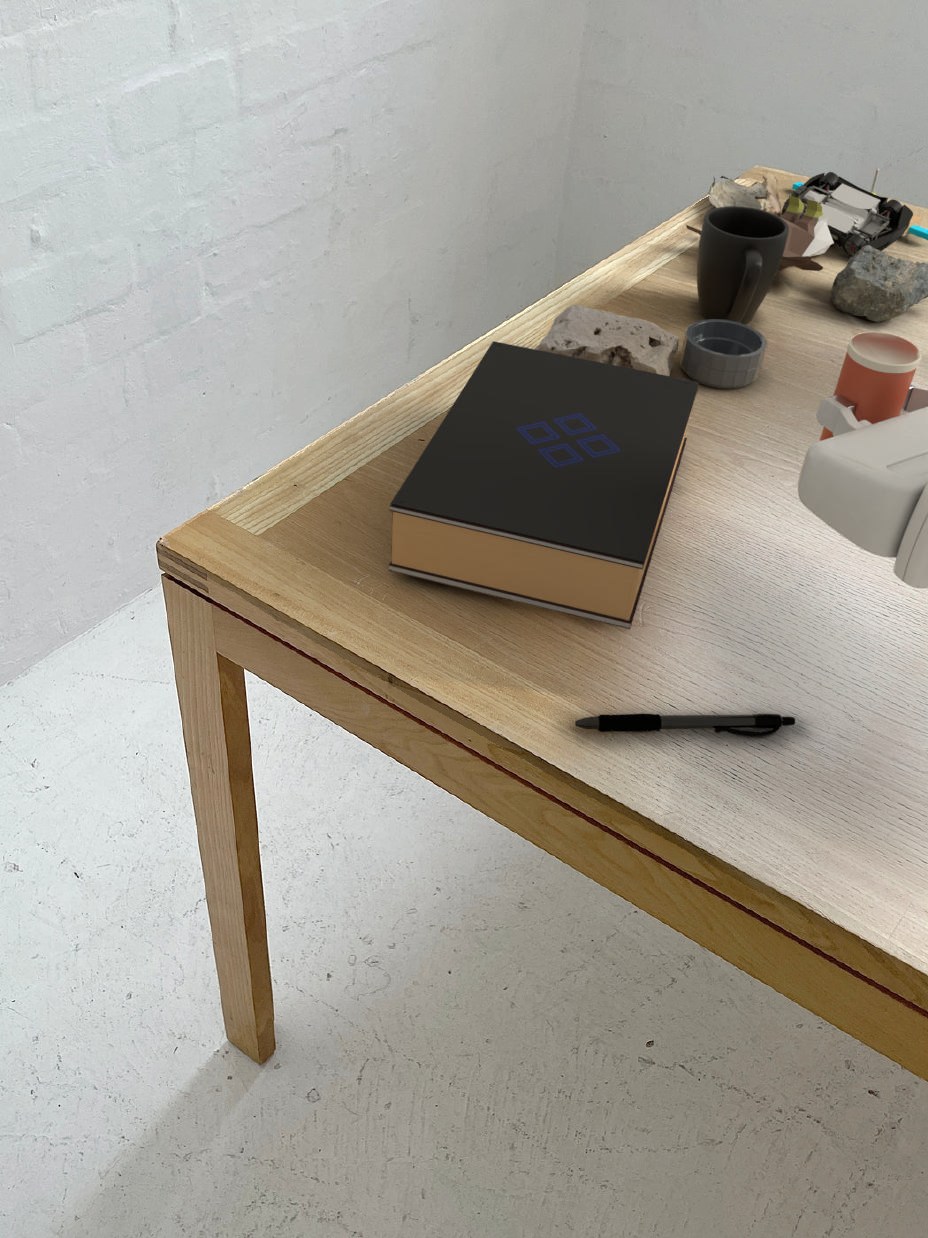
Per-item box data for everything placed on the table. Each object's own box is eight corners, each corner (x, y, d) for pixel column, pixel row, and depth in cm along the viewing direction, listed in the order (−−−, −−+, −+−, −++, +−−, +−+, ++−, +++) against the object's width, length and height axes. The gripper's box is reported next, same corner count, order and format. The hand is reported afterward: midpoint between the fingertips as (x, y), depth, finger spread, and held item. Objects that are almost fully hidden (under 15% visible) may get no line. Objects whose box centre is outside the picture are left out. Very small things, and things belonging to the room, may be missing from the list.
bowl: (750, 354, 109) (758, 321, 107) (765, 393, 103) (774, 359, 101) (674, 350, 109) (681, 316, 106) (684, 389, 103) (692, 354, 101)
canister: (865, 462, 80) (910, 333, 74) (882, 499, 77) (931, 367, 70) (802, 459, 80) (841, 329, 73) (817, 495, 77) (859, 362, 70)
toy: (885, 292, 122) (906, 228, 117) (763, 312, 116) (779, 246, 112) (796, 235, 132) (812, 174, 128) (680, 251, 127) (692, 188, 122)
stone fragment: (690, 240, 130) (705, 277, 132) (760, 216, 125) (775, 255, 128) (717, 163, 142) (731, 199, 144) (782, 139, 137) (795, 176, 140)
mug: (689, 345, 110) (709, 250, 103) (683, 291, 119) (701, 201, 112) (774, 353, 109) (799, 259, 103) (762, 299, 118) (784, 209, 112)
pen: (801, 731, 70) (795, 740, 71) (795, 708, 71) (789, 718, 72) (579, 734, 68) (576, 743, 69) (576, 710, 69) (572, 720, 70)
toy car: (922, 210, 125) (920, 239, 129) (815, 163, 134) (817, 192, 137) (876, 253, 124) (876, 281, 128) (772, 203, 133) (775, 231, 136)
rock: (872, 342, 114) (893, 297, 110) (806, 291, 119) (824, 247, 116) (952, 324, 119) (975, 281, 116) (886, 277, 125) (905, 234, 122)
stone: (682, 406, 100) (674, 357, 108) (688, 345, 96) (679, 299, 104) (533, 406, 101) (535, 358, 109) (532, 346, 97) (535, 300, 105)
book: (387, 579, 80) (389, 502, 76) (486, 410, 98) (492, 340, 94) (628, 638, 77) (644, 561, 72) (684, 451, 95) (699, 381, 91)
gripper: (1160, 419, 68) (979, 322, 77) (926, 507, 60) (753, 386, 69) (1114, 504, 73) (948, 403, 81) (890, 597, 64) (731, 473, 73)
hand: (856, 396), depth 75 cm, fingers closed on canister, 4 cm apart
